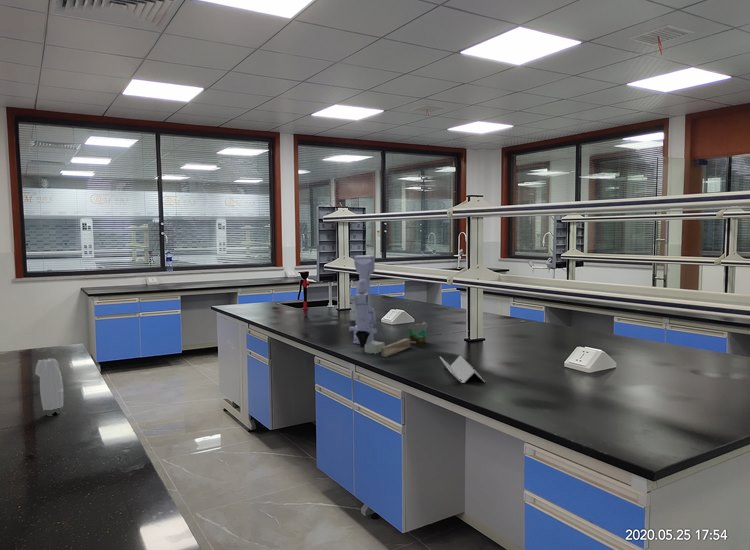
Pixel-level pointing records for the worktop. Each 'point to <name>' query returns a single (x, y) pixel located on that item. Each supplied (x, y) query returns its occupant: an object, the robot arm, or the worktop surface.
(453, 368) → the z bracket
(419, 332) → the food container
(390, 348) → the birch board
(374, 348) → the sage block
